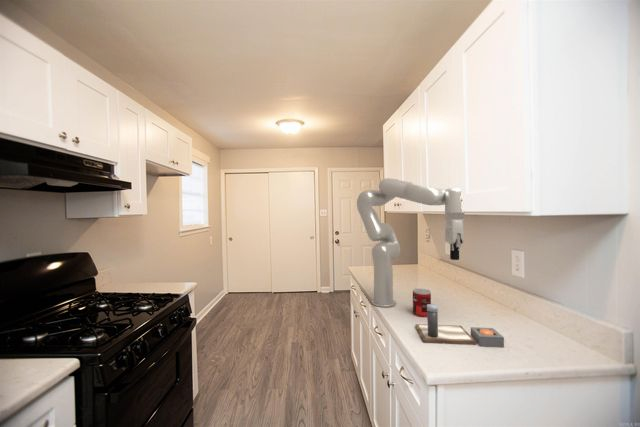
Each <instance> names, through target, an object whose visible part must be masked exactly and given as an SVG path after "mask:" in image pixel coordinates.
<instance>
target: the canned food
mask: <svg viewBox="0 0 640 427" xmlns="http://www.w3.org/2000/svg"><path fill="white" fill-rule="evenodd" d="M427 304H432V292H431V291H430V290H429V289H427V288H415V289H414V288H413V289H412V314H413V315H414V316H416V317H419V318H427Z"/></svg>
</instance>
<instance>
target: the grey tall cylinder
mask: <svg viewBox="0 0 640 427" xmlns="http://www.w3.org/2000/svg"><path fill="white" fill-rule="evenodd" d="M438 312H439V306H438V304H434V303H431V304H427V317H426V318H427V325H428V335H429V336H431V337H438V325H439V317H438V316H439V315H438V314H439V313H438Z"/></svg>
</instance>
